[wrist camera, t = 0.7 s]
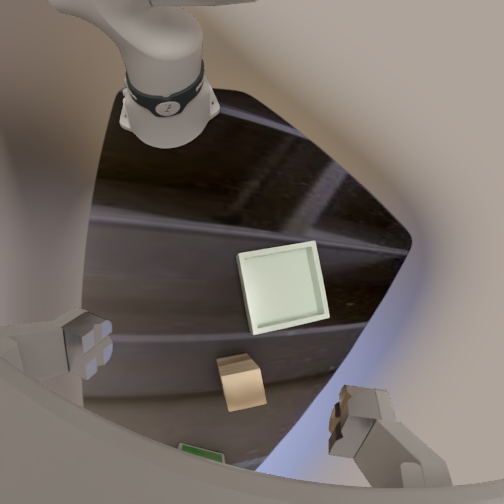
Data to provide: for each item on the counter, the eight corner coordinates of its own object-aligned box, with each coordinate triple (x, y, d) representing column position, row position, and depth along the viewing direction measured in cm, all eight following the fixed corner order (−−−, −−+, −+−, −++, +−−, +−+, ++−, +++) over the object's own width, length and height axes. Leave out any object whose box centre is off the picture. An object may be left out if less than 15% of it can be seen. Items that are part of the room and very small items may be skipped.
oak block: (216, 358, 49) (221, 376, 38) (246, 352, 50) (259, 368, 39) (222, 387, 49) (228, 411, 37) (252, 381, 50) (266, 403, 38)
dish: (235, 256, 52) (238, 253, 49) (308, 244, 55) (315, 240, 51) (250, 332, 51) (253, 334, 47) (321, 316, 53) (329, 317, 50)
